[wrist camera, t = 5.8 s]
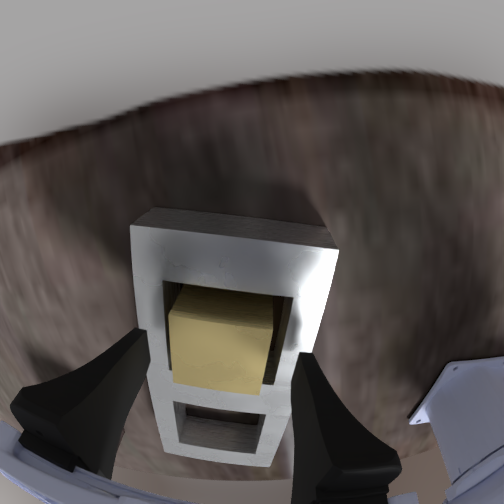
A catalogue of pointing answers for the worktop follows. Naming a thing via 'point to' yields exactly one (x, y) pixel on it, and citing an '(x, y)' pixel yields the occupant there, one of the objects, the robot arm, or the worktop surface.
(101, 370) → the robot arm
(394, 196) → the worktop surface
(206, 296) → the pale yellow wooden cube
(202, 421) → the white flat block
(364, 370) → the worktop surface
